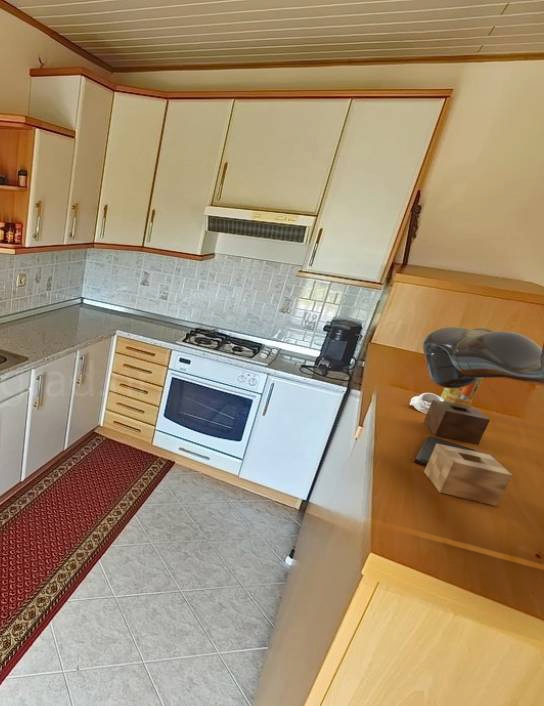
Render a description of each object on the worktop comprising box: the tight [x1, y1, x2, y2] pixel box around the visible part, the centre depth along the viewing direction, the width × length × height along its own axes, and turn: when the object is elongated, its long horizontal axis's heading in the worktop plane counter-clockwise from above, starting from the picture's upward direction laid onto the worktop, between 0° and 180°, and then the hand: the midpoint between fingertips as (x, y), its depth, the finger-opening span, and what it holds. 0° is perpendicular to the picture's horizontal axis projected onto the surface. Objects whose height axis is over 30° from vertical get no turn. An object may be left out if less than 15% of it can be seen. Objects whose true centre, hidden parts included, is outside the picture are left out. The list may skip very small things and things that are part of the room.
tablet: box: [413, 435, 495, 467], centre depth 97 cm, size 18×11×1 cm, turn 135°
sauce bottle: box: [440, 378, 484, 407], centre depth 125 cm, size 7×6×20 cm
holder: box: [423, 400, 491, 445], centre depth 110 cm, size 8×8×6 cm
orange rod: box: [460, 381, 478, 400], centre depth 106 cm, size 2×2×15 cm
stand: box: [423, 443, 513, 507], centre depth 85 cm, size 8×8×6 cm
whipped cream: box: [409, 392, 444, 415], centre depth 124 cm, size 8×7×5 cm
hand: (492, 341), depth 106 cm, fingers closed on orange rod, 2 cm apart
